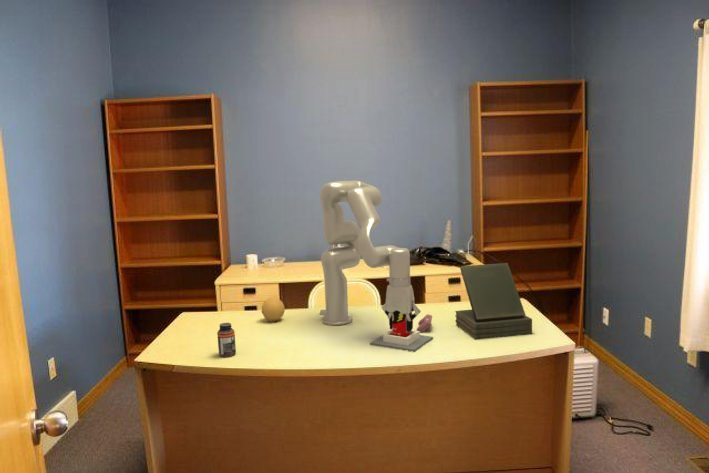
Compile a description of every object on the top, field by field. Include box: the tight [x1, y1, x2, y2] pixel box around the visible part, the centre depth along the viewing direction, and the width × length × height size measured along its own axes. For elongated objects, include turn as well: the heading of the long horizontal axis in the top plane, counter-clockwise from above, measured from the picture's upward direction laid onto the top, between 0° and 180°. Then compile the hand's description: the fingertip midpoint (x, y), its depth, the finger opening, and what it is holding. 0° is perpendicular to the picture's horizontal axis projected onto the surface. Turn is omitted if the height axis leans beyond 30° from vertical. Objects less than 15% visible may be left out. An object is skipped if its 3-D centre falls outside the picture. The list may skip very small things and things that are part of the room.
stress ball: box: [261, 297, 286, 322], centre depth 227 cm, size 10×10×10 cm
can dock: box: [369, 329, 434, 353], centre depth 193 cm, size 18×16×3 cm
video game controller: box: [416, 313, 433, 333], centre depth 208 cm, size 10×5×7 cm, turn 169°
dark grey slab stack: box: [454, 262, 533, 341], centre depth 203 cm, size 23×20×25 cm
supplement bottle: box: [216, 322, 237, 358], centre depth 186 cm, size 6×6×11 cm
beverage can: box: [391, 311, 410, 337], centre depth 193 cm, size 6×6×12 cm
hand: (401, 329), depth 193 cm, fingers closed on beverage can, 6 cm apart
